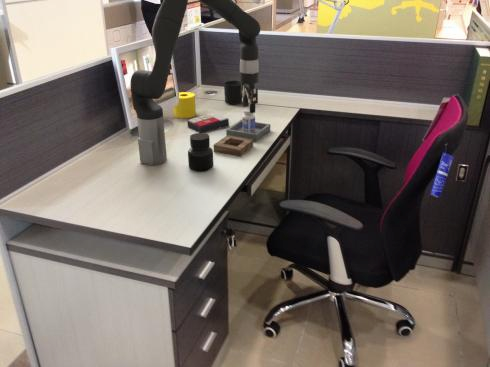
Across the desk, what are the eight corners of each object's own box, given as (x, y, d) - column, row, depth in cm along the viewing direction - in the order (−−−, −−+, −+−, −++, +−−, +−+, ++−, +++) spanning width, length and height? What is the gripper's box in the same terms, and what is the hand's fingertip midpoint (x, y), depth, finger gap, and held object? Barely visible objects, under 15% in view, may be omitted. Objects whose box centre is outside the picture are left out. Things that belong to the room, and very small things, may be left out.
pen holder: (246, 101, 242) (246, 82, 238) (236, 106, 235) (236, 86, 231) (231, 98, 247) (230, 79, 242) (220, 103, 240) (220, 83, 235)
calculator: (186, 119, 208) (214, 111, 216) (187, 128, 210) (215, 119, 218) (200, 126, 200) (228, 117, 208) (201, 135, 202) (229, 126, 210)
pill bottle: (254, 129, 203) (254, 107, 199) (255, 134, 199) (256, 111, 194) (241, 129, 203) (241, 108, 198) (243, 134, 198) (242, 112, 194)
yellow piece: (183, 110, 230) (181, 91, 226) (199, 113, 226) (199, 94, 221) (170, 115, 222) (168, 96, 218) (187, 119, 218) (185, 99, 214)
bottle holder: (240, 157, 179) (240, 149, 178) (213, 152, 184) (213, 144, 182) (253, 146, 188) (253, 139, 187) (227, 141, 193) (227, 135, 191)
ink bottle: (219, 165, 172) (218, 134, 167) (205, 174, 165) (203, 142, 160) (197, 160, 177) (195, 129, 171) (182, 168, 170) (180, 137, 164)
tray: (256, 141, 193) (256, 134, 191) (226, 136, 198) (226, 129, 197) (270, 130, 204) (270, 124, 203) (241, 126, 210) (241, 119, 208)
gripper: (234, 67, 194) (235, 105, 201) (246, 75, 182) (246, 115, 189) (252, 66, 196) (251, 104, 203) (264, 73, 184) (263, 113, 191)
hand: (249, 109), depth 196 cm, fingers open, 8 cm apart
